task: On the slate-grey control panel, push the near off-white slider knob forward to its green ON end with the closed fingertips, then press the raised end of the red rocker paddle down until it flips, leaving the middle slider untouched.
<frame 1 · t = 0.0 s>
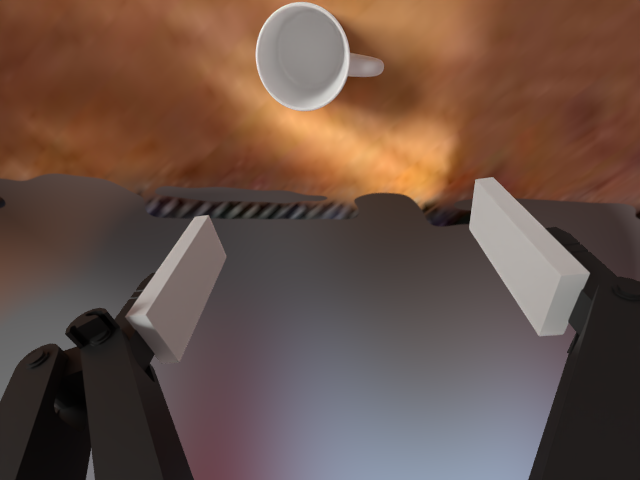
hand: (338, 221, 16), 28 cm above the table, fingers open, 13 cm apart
mug: (326, 54, 36), on the table
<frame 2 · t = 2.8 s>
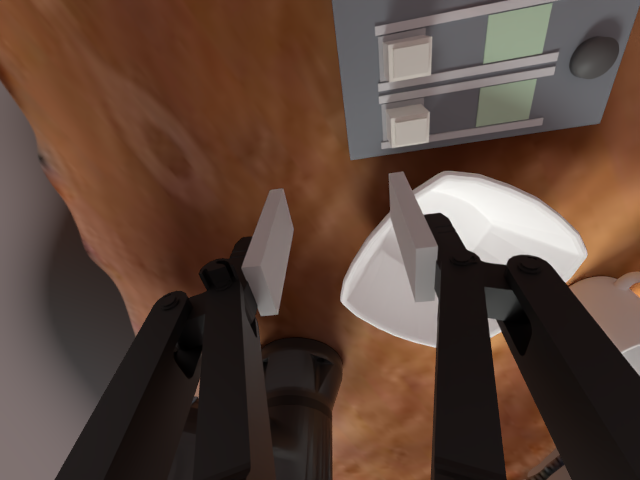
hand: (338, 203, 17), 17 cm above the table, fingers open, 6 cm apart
mug: (595, 285, 42), on the table
slider C: (406, 58, 23), point 5 cm above the table, slide at 0.0 cm
slider B: (407, 126, 26), point 5 cm above the table, slide at 0.0 cm
panel: (466, 39, 27), on the table
bowl: (432, 232, 38), on the table
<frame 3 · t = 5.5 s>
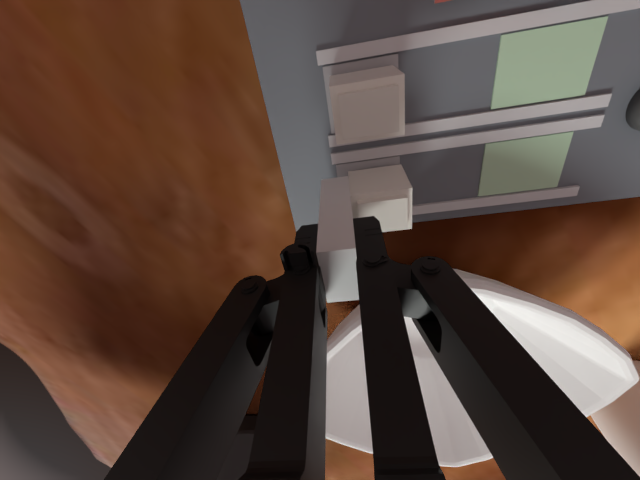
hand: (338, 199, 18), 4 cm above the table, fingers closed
mug: (626, 368, 33), on the table
slider C: (365, 104, 14), point 5 cm above the table, slide at 0.0 cm
slider B: (379, 200, 17), point 5 cm above the table, slide at 0.4 cm, touching gripper
panel: (464, 67, 18), on the table
bowl: (419, 309, 29), on the table
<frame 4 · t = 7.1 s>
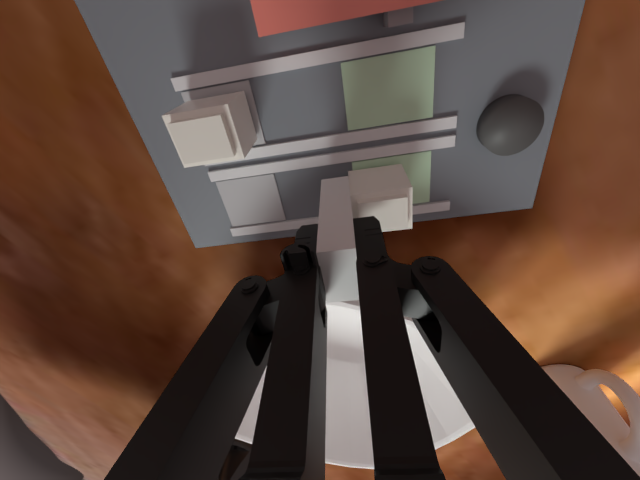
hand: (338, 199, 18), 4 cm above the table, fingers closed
mug: (555, 372, 34), on the table
slider C: (213, 129, 15), point 5 cm above the table, slide at 0.0 cm
slider B: (379, 200, 17), point 5 cm above the table, slide at 7.6 cm, touching gripper
panel: (336, 89, 18), on the table
bowl: (343, 315, 30), on the table
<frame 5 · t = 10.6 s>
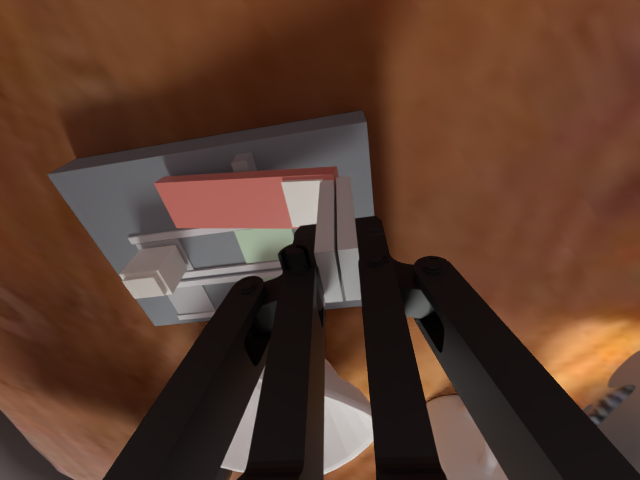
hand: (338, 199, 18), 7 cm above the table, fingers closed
mug: (453, 400, 43), on the table
rocker: (246, 201, 20), point 5 cm above the table, hinge at -13.3°, touching gripper
slider C: (154, 272, 24), point 5 cm above the table, slide at 0.0 cm
panel: (244, 227, 27), on the table
bowl: (278, 361, 39), on the table
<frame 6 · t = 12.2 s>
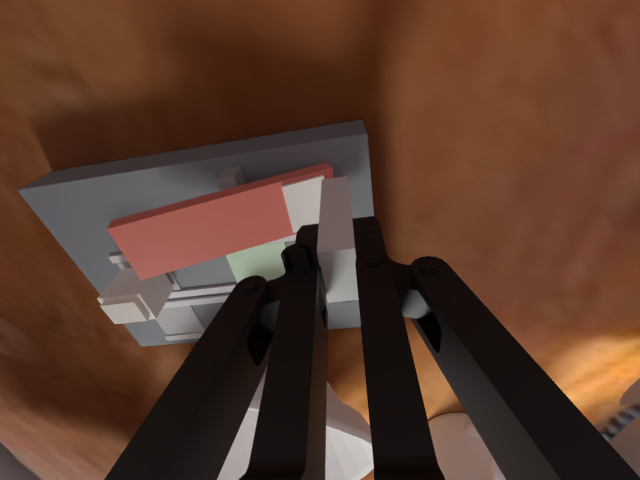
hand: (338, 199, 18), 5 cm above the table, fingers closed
mug: (457, 417, 41), on the table
rocker: (235, 221, 18), point 5 cm above the table, hinge at 17.5°
slider C: (137, 295, 22), point 5 cm above the table, slide at 0.0 cm
panel: (235, 243, 25), on the table
bowl: (274, 378, 37), on the table
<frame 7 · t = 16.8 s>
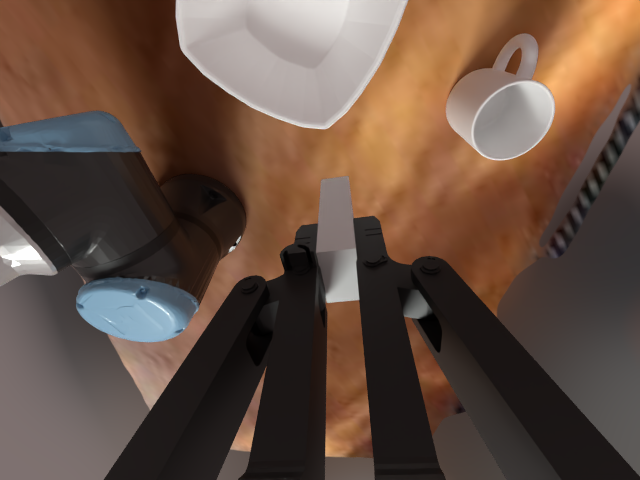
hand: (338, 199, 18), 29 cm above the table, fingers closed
mug: (481, 86, 41), on the table
bowl: (297, 8, 36), on the table
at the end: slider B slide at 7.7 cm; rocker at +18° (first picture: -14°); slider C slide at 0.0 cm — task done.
